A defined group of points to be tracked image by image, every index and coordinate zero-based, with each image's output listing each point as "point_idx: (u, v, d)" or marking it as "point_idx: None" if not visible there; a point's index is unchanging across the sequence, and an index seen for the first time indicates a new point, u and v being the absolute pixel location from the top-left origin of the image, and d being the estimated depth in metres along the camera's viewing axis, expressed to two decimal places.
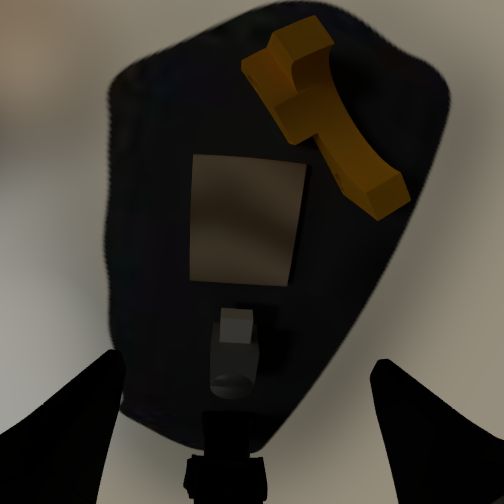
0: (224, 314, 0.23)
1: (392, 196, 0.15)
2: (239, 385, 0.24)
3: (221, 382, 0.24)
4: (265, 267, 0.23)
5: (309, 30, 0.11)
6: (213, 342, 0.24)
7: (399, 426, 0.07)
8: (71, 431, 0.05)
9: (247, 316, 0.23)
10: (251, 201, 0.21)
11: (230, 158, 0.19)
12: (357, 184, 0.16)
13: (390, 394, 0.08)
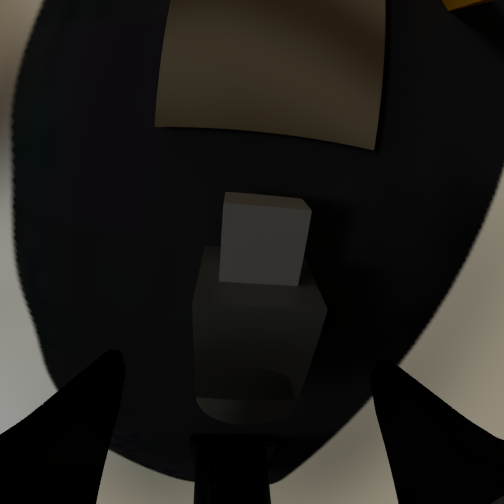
0: (234, 199, 0.09)
1: None
2: (265, 396, 0.10)
3: (223, 389, 0.10)
4: (330, 97, 0.09)
5: None
6: (203, 281, 0.09)
7: (399, 426, 0.07)
8: (71, 431, 0.05)
9: (294, 205, 0.09)
10: None
11: None
12: None
13: (390, 394, 0.08)
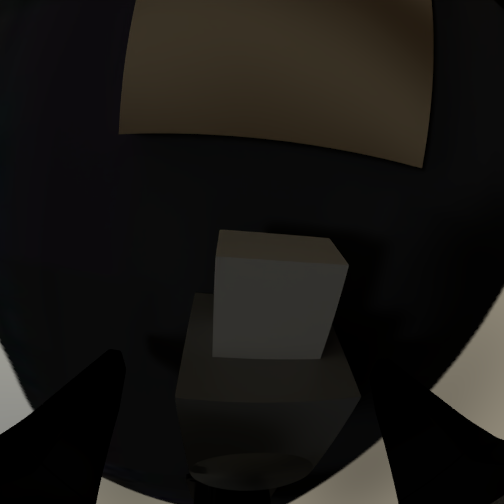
0: (231, 245, 0.06)
1: None
2: (272, 472, 0.07)
3: (221, 468, 0.07)
4: (368, 92, 0.06)
5: None
6: (190, 356, 0.06)
7: (399, 426, 0.07)
8: (71, 431, 0.05)
9: (322, 254, 0.06)
10: None
11: None
12: None
13: (390, 394, 0.08)
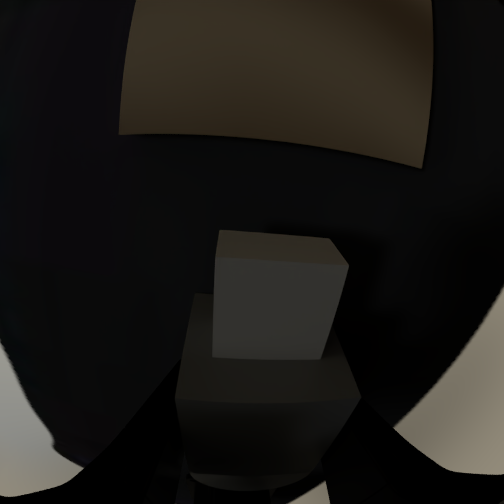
0: (231, 246, 0.06)
1: None
2: (272, 472, 0.07)
3: (221, 468, 0.07)
4: (368, 93, 0.06)
5: None
6: (190, 357, 0.06)
7: None
8: (165, 453, 0.05)
9: (322, 254, 0.06)
10: None
11: None
12: None
13: None
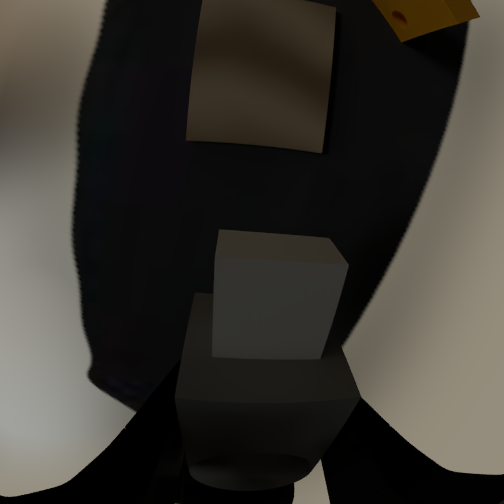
0: (231, 246, 0.06)
1: (463, 5, 0.07)
2: (272, 472, 0.07)
3: (221, 468, 0.07)
4: (292, 121, 0.15)
5: None
6: (190, 356, 0.06)
7: None
8: (165, 453, 0.05)
9: (321, 254, 0.06)
10: (273, 36, 0.13)
11: None
12: None
13: None
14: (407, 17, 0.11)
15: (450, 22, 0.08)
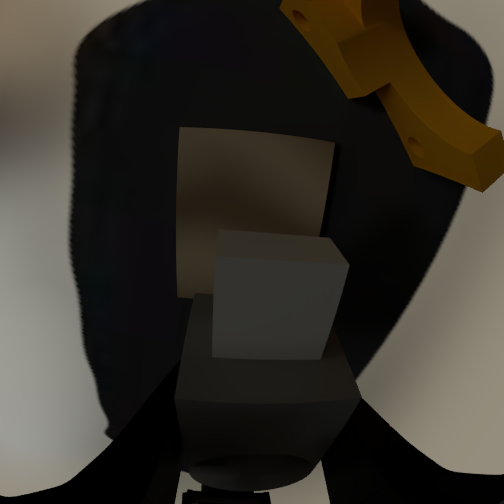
0: (231, 245, 0.06)
1: (495, 160, 0.09)
2: (272, 473, 0.07)
3: (221, 469, 0.07)
4: None
5: None
6: (190, 357, 0.06)
7: None
8: (165, 453, 0.05)
9: (322, 254, 0.06)
10: (260, 191, 0.15)
11: (231, 131, 0.14)
12: (453, 145, 0.10)
13: None
14: (425, 151, 0.13)
15: (473, 185, 0.10)
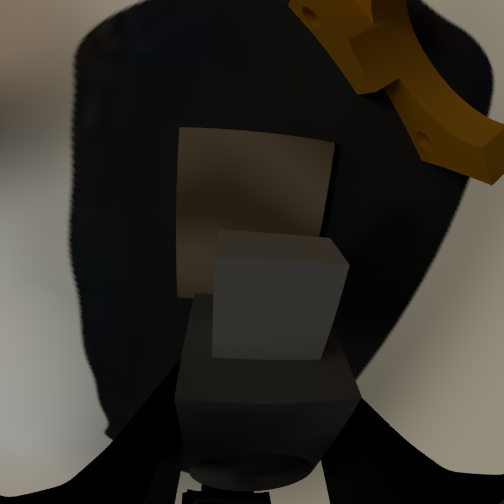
0: (231, 245, 0.06)
1: (503, 154, 0.09)
2: (272, 473, 0.07)
3: (221, 469, 0.07)
4: None
5: None
6: (190, 357, 0.06)
7: None
8: (165, 453, 0.05)
9: (322, 254, 0.06)
10: (260, 191, 0.15)
11: (231, 131, 0.14)
12: (463, 139, 0.10)
13: None
14: (434, 146, 0.12)
15: (483, 179, 0.10)
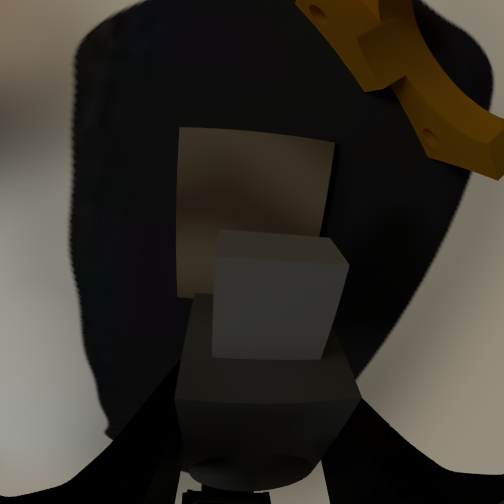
0: (231, 245, 0.06)
1: None
2: (272, 473, 0.07)
3: (221, 469, 0.07)
4: None
5: None
6: (190, 357, 0.06)
7: None
8: (165, 453, 0.05)
9: (322, 254, 0.06)
10: (260, 191, 0.15)
11: (231, 131, 0.14)
12: (469, 135, 0.10)
13: None
14: (441, 142, 0.12)
15: (489, 174, 0.10)
